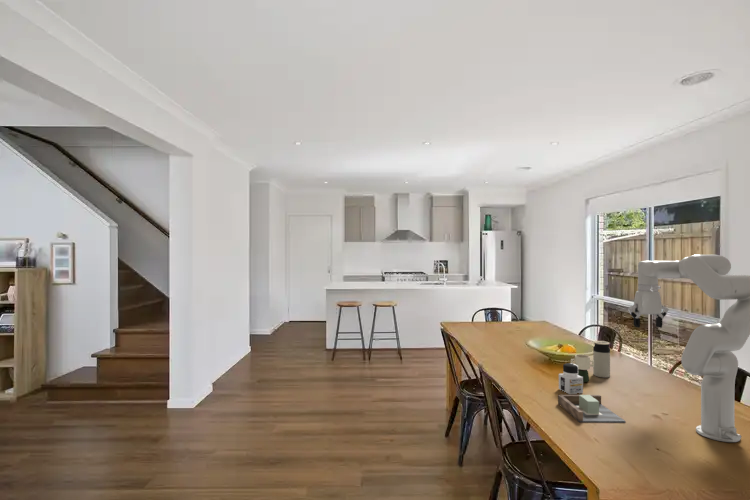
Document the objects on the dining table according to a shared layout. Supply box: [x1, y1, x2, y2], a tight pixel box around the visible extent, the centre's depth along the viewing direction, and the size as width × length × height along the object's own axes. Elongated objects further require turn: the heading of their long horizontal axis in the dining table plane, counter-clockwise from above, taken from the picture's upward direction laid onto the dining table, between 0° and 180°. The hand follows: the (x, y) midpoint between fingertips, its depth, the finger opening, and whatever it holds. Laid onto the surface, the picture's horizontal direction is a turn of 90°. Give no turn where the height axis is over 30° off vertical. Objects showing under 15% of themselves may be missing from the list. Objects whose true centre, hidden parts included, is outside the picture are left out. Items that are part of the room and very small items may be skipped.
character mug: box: [570, 354, 594, 383], centre depth 220 cm, size 11×7×13 cm, turn 74°
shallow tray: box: [557, 394, 626, 424], centre depth 177 cm, size 20×18×4 cm
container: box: [558, 362, 584, 395], centre depth 204 cm, size 8×8×13 cm
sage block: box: [578, 394, 599, 414], centre depth 178 cm, size 4×8×5 cm, turn 179°
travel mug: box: [592, 340, 611, 379], centre depth 229 cm, size 8×8×18 cm
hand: (648, 327), depth 190 cm, fingers open, 9 cm apart
